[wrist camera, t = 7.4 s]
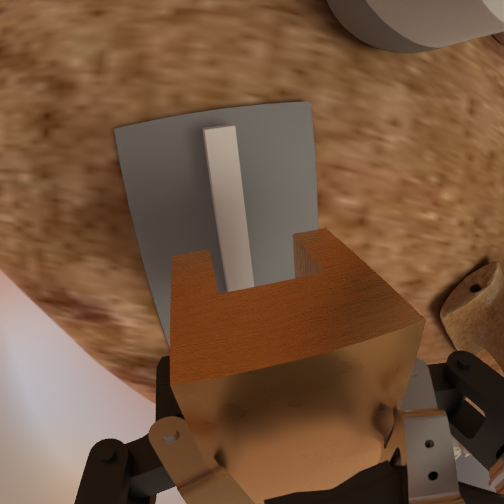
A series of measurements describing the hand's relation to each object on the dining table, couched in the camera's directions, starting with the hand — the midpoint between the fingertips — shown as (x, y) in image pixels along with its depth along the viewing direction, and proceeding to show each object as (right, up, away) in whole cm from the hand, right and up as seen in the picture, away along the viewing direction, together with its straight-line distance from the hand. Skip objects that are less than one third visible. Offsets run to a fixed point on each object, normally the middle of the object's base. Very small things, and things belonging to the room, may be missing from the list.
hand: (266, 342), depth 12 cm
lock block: (0, 0, +1) cm, 1 cm away
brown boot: (+27, -3, +19) cm, 33 cm away
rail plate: (-2, +3, +10) cm, 11 cm away
